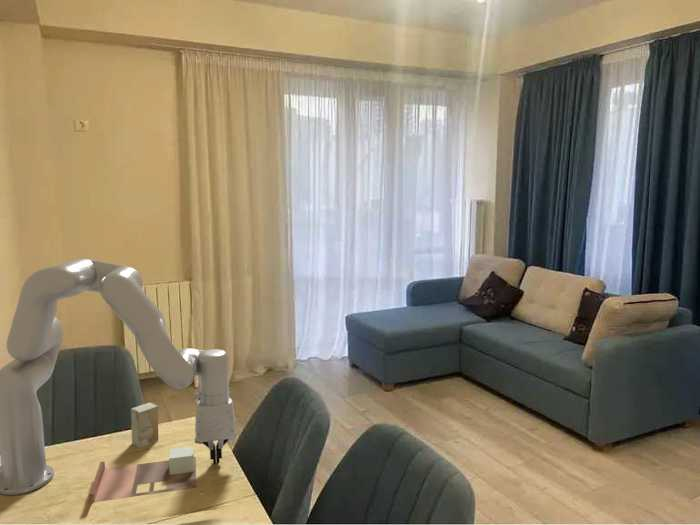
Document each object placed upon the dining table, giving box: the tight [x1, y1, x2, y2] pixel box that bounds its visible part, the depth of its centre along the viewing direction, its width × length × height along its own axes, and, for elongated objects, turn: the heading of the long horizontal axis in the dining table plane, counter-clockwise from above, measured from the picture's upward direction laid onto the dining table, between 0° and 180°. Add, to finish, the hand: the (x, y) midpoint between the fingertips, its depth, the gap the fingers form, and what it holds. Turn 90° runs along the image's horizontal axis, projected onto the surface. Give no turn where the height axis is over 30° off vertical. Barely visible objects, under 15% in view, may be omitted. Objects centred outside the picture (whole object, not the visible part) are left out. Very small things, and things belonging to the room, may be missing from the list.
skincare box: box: [130, 402, 159, 449], centre depth 150 cm, size 6×4×12 cm
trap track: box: [89, 456, 197, 509], centre depth 132 cm, size 24×15×4 cm, turn 107°
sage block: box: [168, 446, 195, 475], centre depth 137 cm, size 6×5×4 cm
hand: (216, 460), depth 140 cm, fingers closed
